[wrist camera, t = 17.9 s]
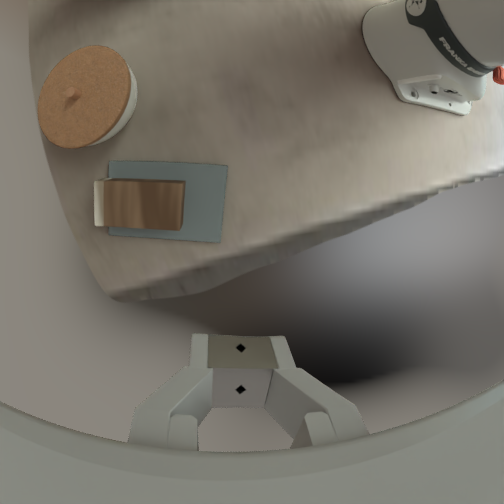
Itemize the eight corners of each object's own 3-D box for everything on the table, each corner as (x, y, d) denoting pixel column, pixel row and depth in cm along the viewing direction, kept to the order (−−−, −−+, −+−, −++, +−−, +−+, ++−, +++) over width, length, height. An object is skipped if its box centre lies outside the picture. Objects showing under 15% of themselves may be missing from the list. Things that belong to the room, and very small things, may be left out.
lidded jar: (139, 51, 24) (113, 22, 15) (157, 128, 28) (134, 120, 19) (64, 87, 24) (23, 75, 15) (80, 160, 28) (38, 167, 19)
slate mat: (227, 165, 31) (227, 166, 30) (220, 240, 34) (220, 242, 33) (111, 160, 29) (109, 161, 28) (110, 233, 32) (108, 235, 31)
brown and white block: (182, 183, 27) (94, 181, 26) (179, 230, 29) (94, 225, 27) (185, 180, 30) (104, 178, 28) (183, 223, 32) (104, 219, 30)
